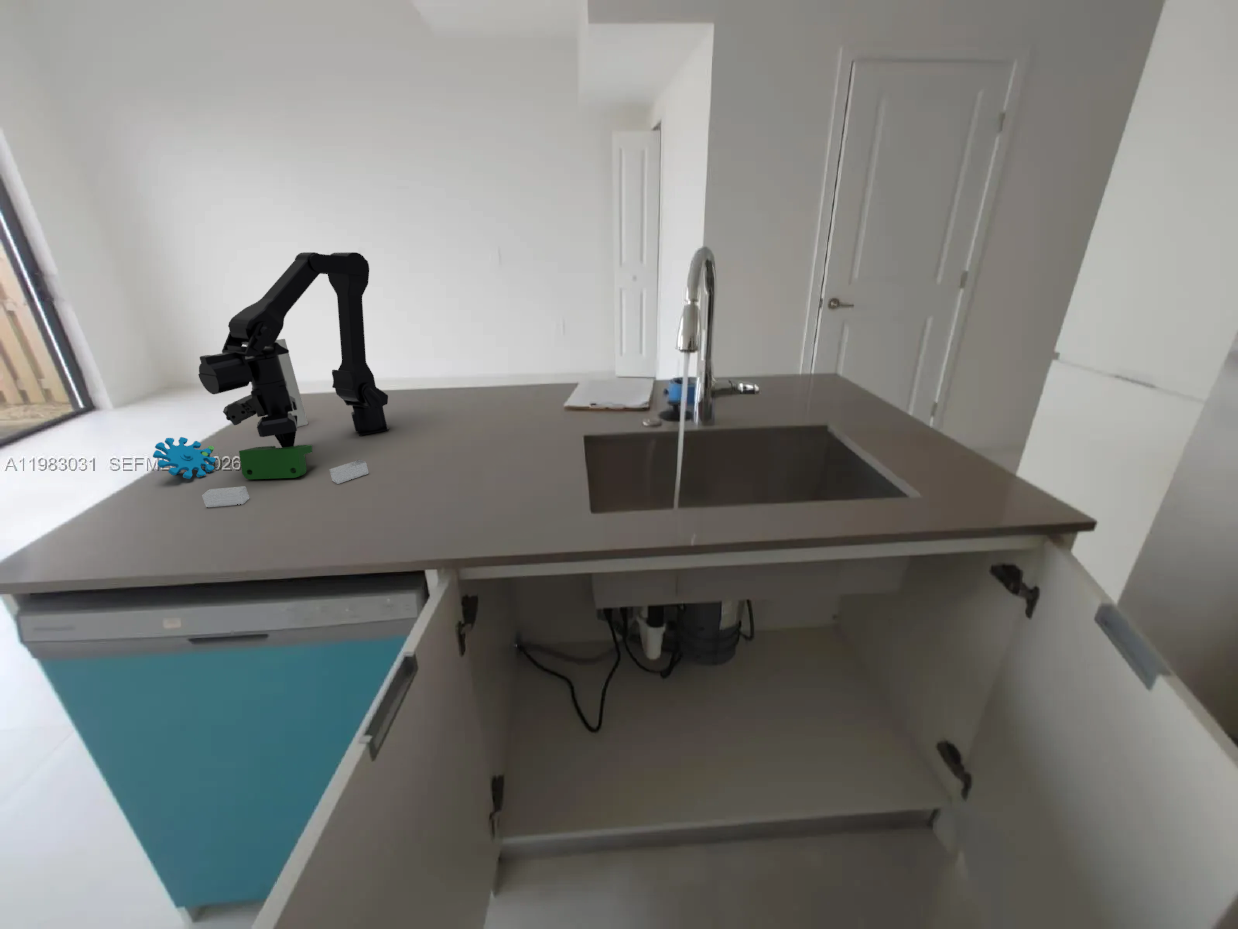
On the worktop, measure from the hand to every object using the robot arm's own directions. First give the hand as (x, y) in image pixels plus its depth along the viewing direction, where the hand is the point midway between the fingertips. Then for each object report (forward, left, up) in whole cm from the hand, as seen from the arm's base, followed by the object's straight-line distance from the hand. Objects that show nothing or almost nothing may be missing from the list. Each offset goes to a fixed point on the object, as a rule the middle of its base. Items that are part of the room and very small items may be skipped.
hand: (289, 454), depth 113 cm
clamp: (+1, +6, -2) cm, 6 cm away
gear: (+17, -4, -2) cm, 18 cm away
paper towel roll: (+1, -25, -2) cm, 25 cm away
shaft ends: (0, +16, -2) cm, 16 cm away
